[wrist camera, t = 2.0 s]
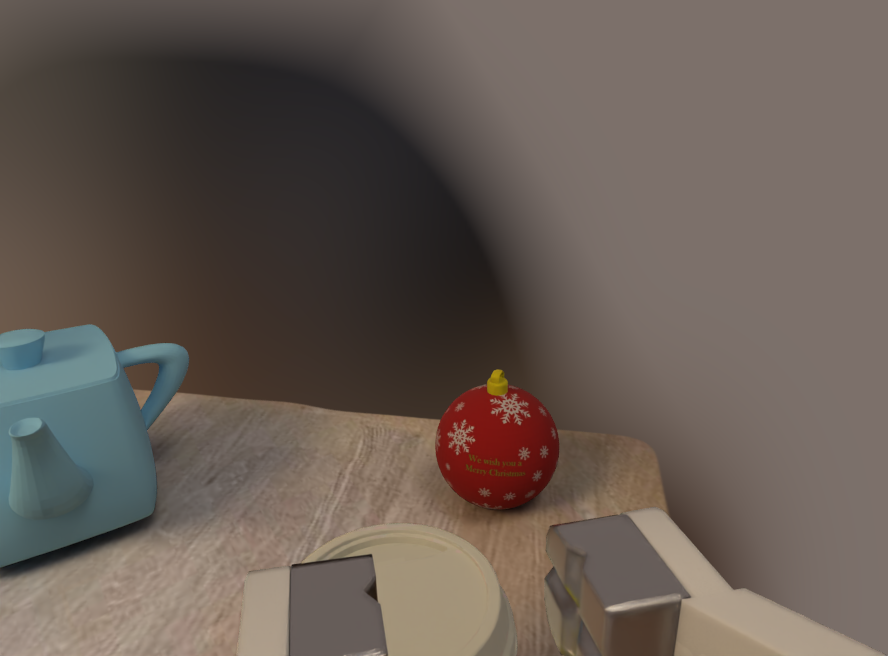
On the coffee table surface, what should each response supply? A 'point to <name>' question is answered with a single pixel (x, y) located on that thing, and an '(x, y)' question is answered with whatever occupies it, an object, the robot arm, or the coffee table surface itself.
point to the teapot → (75, 436)
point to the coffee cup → (431, 591)
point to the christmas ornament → (497, 445)
